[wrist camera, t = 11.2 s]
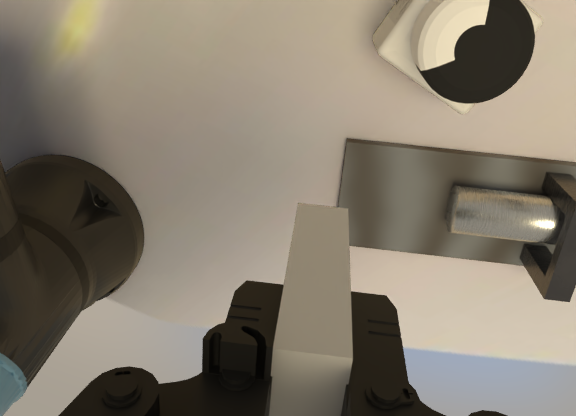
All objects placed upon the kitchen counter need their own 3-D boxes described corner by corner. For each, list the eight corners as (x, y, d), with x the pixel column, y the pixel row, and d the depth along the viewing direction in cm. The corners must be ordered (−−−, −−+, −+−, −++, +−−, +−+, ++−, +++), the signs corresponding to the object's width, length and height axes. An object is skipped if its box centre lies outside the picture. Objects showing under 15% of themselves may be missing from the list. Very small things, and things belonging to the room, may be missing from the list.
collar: (519, 258, 48) (544, 299, 42) (546, 171, 45) (577, 203, 39) (541, 260, 48) (569, 301, 42) (570, 174, 45) (605, 206, 39)
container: (512, 10, 41) (582, 30, 29) (445, 92, 44) (483, 141, 32) (433, -51, 39) (472, -57, 28) (369, 38, 42) (381, 68, 31)
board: (333, 238, 50) (333, 243, 49) (347, 138, 46) (347, 142, 45) (667, 276, 49) (673, 282, 48) (713, 177, 45) (720, 181, 44)
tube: (443, 228, 47) (454, 238, 43) (450, 182, 46) (462, 187, 42) (673, 255, 46) (708, 267, 42) (684, 208, 45) (720, 216, 41)
